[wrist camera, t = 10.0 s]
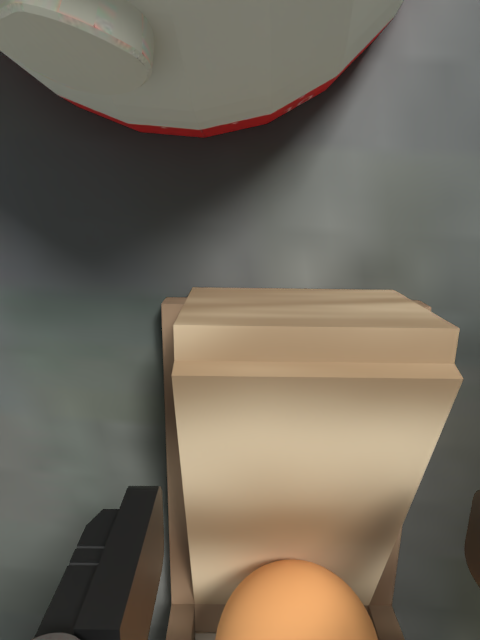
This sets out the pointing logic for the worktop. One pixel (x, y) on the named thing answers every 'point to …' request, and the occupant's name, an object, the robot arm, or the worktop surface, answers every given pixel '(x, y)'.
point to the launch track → (296, 437)
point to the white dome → (189, 56)
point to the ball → (294, 606)
